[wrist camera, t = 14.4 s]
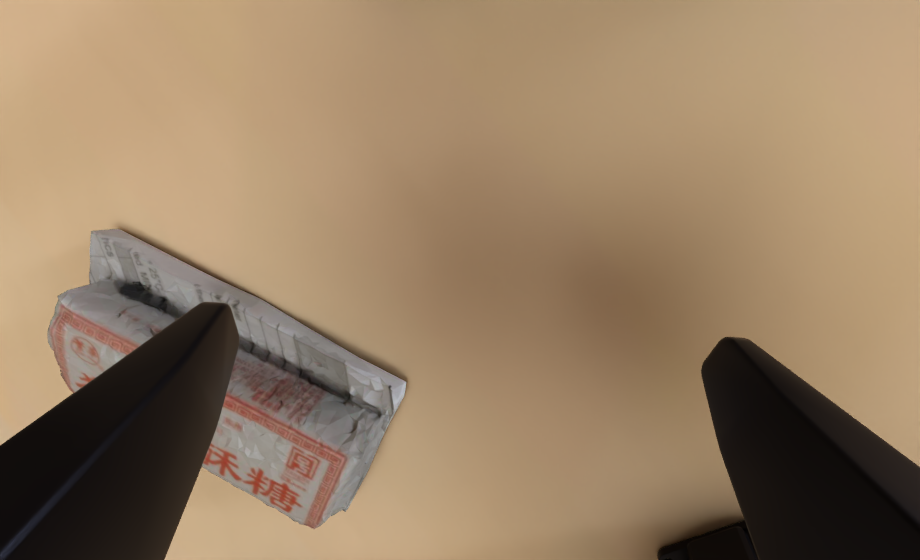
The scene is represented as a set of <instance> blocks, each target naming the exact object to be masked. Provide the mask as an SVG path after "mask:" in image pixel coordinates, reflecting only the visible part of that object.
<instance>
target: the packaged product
mask: <svg viewBox="0 0 920 560" xmlns="http://www.w3.org/2000/svg"><path fill="white" fill-rule="evenodd" d="M89 278H90V284H89V285H86V286H82V287H78V288H74V289H71V290H67V291H66V292H64V293H62V294H60V295H59V296H58V299H59V300H58V302H57V304H56V307H55V314H54V316H53V318H52V320H51V322H50V325H49V328H48V343H49V345H50V347H51V348H52V350H53V351H54V354H55V358H56V360H57V362H58V365H59V366H60V368H61V370H60V371H61V372H62V373H61V376H62V377H63V379H64V381H65V382H66V384H67V386H68V388H69V389H70V390H71V391H72V392H73V393H75V392H76V391H77V390H79V389H80V388H82V387H83V386H84V385H86V384H87V383H89V382H90V381H91V380H93V379H94V378H96V377H97V376H98V375H100V374H101V373H103V372H104V371H105V370H107V369H108V368H110V367H111V366H112V365H114V364H115V363H117V362H118V361H119V360H121V359H122V358H124V357H125V356H126V355H128V354H129V353H131V352H132V351H133V350H135V349H136V348H138V347H139V346H140V345H142V344H143V343H145V342H146V341H147V340H149V339H150V338H152V337H153V336H154V335H156V334H157V333H159V332H160V331H161V330H163V329H164V328H166V327H167V326H168V325H170V324H171V323H173V322H174V321H175V320H177V319H178V318H179V317H181V316H182V315H184V314H185V313H186V312H188V311H189V310H191V309H192V308H193V307H195V306H196V305H198V304H199V303H202V302H220V303H226V304H228V305H229V306H230V307H231V310H232V313H233V316H234V319H235V323H236V326H237V329H238V333H239V348H238V352H237V355H236V359H235V363H234V367H233V370H232V374H231V378H230V381H229V385H228V389H227V392H226V396H225V400H224V404H223V407H222V411H221V415H220V418H219V421H218V425H217V428H216V431H215V434H214V436H213V439H212V442H211V444H210V447H209V449H208V452H207V454H206V457H205V459H204V462H203V464H202V467H204V468H205V469H207V470H208V471H209V472H211V473H213V474H215V475H216V476H218V477H220V478H222V479H223V480H225V481H227V482H229V483H231V484H232V485H233V486H235V487H237V488H239V489H241V490H243V491H245V492H247V493H249V494H250V495H252V496H254V497H256V498H258V499H259V500H261V501H263V502H264V503H265V504H266V505H268V506H270V507H273V508H276V509H277V510H278V511H280V512H281V513H283V514H285V515H287V516H288V517H290V518H291V519H292V520H293V521H296V522H299V524H302V525H306V526H309V527H311V528H313V529H315V528H317V527H319V526H321V525H322V524H323V523H324V522H325V521H326V520H327V519H328V518H329V517H330V516H332V515H334V514H336V513H338V512H339V511H341V510H343V511H345V512H346V510H347V509H348V507H349V506H350V504H351V502H352V500H353V498H354V496H355V494H356V492H357V490H358V489H359V487H360V485H361V483H362V481H363V479H364V477H365V475H366V473H367V472H368V470H369V467H370V465H371V463H372V460H373V458H374V456H375V453H376V451H377V449H378V447H379V444H380V442H381V440H382V437H383V435H384V433H385V431H386V429H387V427H388V425H389V423H390V421H391V420H392V418H393V416H394V414H395V412H396V410H397V408H398V406H399V405H400V403H401V401H402V399H403V397H404V395H405V388H406V381H404V380H402V379H400V378H398V377H396V376H394V375H392V374H390V373H388V372H386V371H384V370H382V369H380V368H378V367H377V366H375V365H373V364H371V363H369V362H367V361H365V360H363V359H361V358H359V357H357V356H356V355H354V354H352V353H351V352H349V351H347V350H345V349H344V348H342V347H340V346H339V345H337V344H335V343H333V342H332V341H330V340H328V339H327V338H325V337H323V336H321V335H320V334H318V333H316V332H315V331H313V330H311V329H310V328H308V327H306V326H304V325H303V324H301V323H299V322H298V321H296V320H295V319H293V318H291V317H290V316H288V315H286V314H285V313H283V312H281V311H280V310H278V309H276V308H275V307H273V306H272V305H270V304H268V303H267V302H265V301H263V300H262V299H259V298H257V297H255V296H253V295H251V294H249V293H246V292H244V291H242V290H240V289H238V288H235V287H233V286H231V285H229V284H227V283H224V282H222V281H220V280H218V279H216V278H214V277H212V276H210V275H208V274H206V273H204V272H202V271H200V270H198V269H196V268H194V267H192V266H190V265H188V264H186V263H184V262H183V261H181V260H179V259H177V258H175V257H173V256H171V255H169V254H167V253H165V252H163V251H161V250H159V249H157V248H155V247H153V246H151V245H149V244H147V243H145V242H143V241H142V240H140V239H138V238H136V237H134V236H132V235H130V234H128V233H126V232H124V231H122V230H120V229H110V230H97V231H91V242H90V273H89Z"/></svg>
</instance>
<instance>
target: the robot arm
mask: <svg viewBox="0 0 920 560" xmlns="http://www.w3.org/2000/svg"><path fill="white" fill-rule="evenodd" d="M238 348H239V333H238V329H237V326H236V323H235V319H234V316H233V313H232V310H231V307H230V306H229V305H228V304H226V303H220V302H202V303H199V304H198V305H196V306H195V307H193V308H192V309H191V310H189V311H188V312H186V313H185V314H184V315H182V316H181V317H179V318H178V319H177V320H175V321H174V322H173V323H171V324H170V325H168V326H167V327H166V328H164V329H163V330H161V331H160V332H159V333H157V334H156V335H154V336H153V337H152V338H150V339H149V340H147V341H146V342H145V343H143V344H142V345H140V346H139V347H138V348H136V349H135V350H133V351H132V352H131V353H129V354H128V355H126V356H125V357H124V358H122V359H121V360H119V361H118V362H117V363H115V364H114V365H112V366H111V367H110V368H108V369H107V370H105V371H104V372H103V373H101V374H100V375H98V376H97V377H96V378H94V379H93V380H91V381H90V382H89V383H87V384H86V385H84V386H83V387H82V388H80V389H79V390H77V391H76V392H75V393H73V394H72V395H70V396H69V397H68V398H66V399H65V400H63V401H62V402H61V403H59V404H58V405H56V406H55V407H54V408H52V409H51V410H49V411H48V412H47V413H45V414H44V415H42V416H41V417H40V418H38V419H37V420H35V421H34V422H33V423H31V424H30V425H28V426H27V427H26V428H24V429H23V430H21V431H20V432H19V433H17V434H16V435H14V436H13V437H12V438H10V439H9V440H7V441H6V442H5V443H3V444H2V445H0V560H164V559H165V556H166V554H167V551H168V549H169V546H170V544H171V541H172V539H173V536H174V534H175V531H176V529H177V526H178V524H179V521H180V519H181V517H182V514H183V512H184V509H185V507H186V504H187V502H188V499H189V497H190V494H191V492H192V489H193V487H194V484H195V482H196V479H197V477H198V474H199V472H200V469H201V467H202V464H203V462H204V459H205V457H206V454H207V452H208V449H209V447H210V444H211V442H212V439H213V436H214V434H215V431H216V428H217V425H218V421H219V418H220V415H221V411H222V407H223V404H224V400H225V396H226V392H227V389H228V385H229V381H230V378H231V374H232V370H233V367H234V363H235V359H236V355H237V352H238ZM701 374H702V379H703V383H704V388H705V392H706V396H707V400H708V404H709V408H710V412H711V416H712V420H713V425H714V429H715V433H716V437H717V441H718V444H719V448H720V451H721V454H722V457H723V460H724V463H725V466H726V469H727V472H728V474H729V477H730V480H731V483H732V486H733V489H734V491H735V494H736V497H737V500H738V503H739V505H740V508H741V511H742V514H743V517H744V520H745V521H742V522H739V523H736V524H733V525H730V526H727V527H724V528H721V529H718V530H715V531H712V532H709V533H706V534H703V535H700V536H697V537H694V538H691V539H688V540H685V541H682V542H679V543H676V544H673V545H670V546H667V547H664V548H662V549H660V550H659V551H658V553H657V556H658V560H920V467H919V466H917V465H916V464H915V463H913V462H912V461H911V460H909V459H908V458H907V457H905V456H904V455H903V454H901V453H900V452H899V451H897V450H896V449H895V448H893V447H892V446H891V445H889V444H888V443H887V442H885V441H884V440H883V439H881V438H880V437H879V436H877V435H876V434H875V433H873V432H872V431H871V430H869V429H868V428H867V427H865V426H864V425H863V424H861V423H860V422H859V421H857V420H856V419H855V418H853V417H852V416H851V415H849V414H848V413H847V412H845V411H844V410H843V409H841V408H840V407H839V406H837V405H836V404H835V403H833V402H832V401H831V400H829V399H828V398H827V397H825V396H824V395H823V394H821V393H820V392H819V391H817V390H816V389H814V388H813V387H812V386H810V385H809V384H808V383H806V382H805V381H804V380H802V379H801V378H800V377H798V376H797V375H796V374H794V373H793V372H792V371H790V370H789V369H788V368H786V367H785V366H784V365H782V364H781V363H780V362H778V361H777V360H776V359H774V358H773V357H772V356H770V355H769V354H768V353H766V352H765V351H764V350H762V349H761V348H760V347H758V346H757V345H756V344H754V343H753V342H752V341H750V340H748V339H745V338H737V337H725V338H723V339H721V340H720V341H719V342H718V344H717V345H716V346H715V348H714V349H713V350H712V352H711V353H710V354H709V356H708V357H707V358H706V360H705V361H704V362H703V365H702V369H701ZM667 558H669V559H667Z"/></svg>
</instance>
